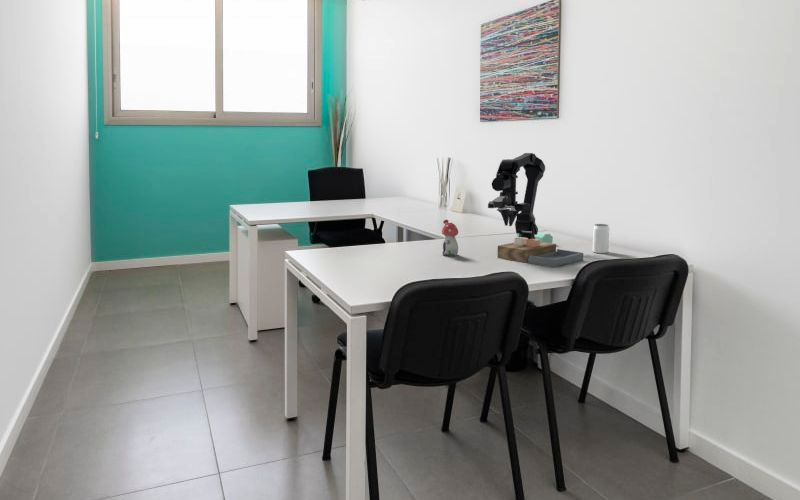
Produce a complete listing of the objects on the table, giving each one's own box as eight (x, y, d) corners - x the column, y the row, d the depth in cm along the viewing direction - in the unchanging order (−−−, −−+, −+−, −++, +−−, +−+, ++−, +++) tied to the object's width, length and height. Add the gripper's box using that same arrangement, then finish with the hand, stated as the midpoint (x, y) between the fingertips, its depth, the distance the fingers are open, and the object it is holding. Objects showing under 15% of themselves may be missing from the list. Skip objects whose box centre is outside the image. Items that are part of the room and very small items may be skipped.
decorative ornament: (440, 253, 266) (440, 219, 263) (454, 252, 267) (454, 218, 264) (445, 257, 257) (445, 222, 254) (460, 256, 258) (460, 221, 255)
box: (527, 262, 244) (527, 255, 243) (556, 255, 257) (556, 248, 256) (554, 267, 234) (554, 259, 234) (582, 260, 247) (583, 252, 247)
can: (609, 253, 260) (610, 226, 257) (593, 253, 261) (594, 225, 259) (607, 251, 266) (608, 223, 264) (591, 250, 267) (592, 223, 265)
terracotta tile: (526, 245, 253) (526, 239, 252) (531, 244, 256) (532, 238, 255) (534, 246, 250) (534, 240, 250) (539, 245, 253) (540, 239, 252)
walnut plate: (497, 257, 255) (497, 245, 254) (526, 251, 268) (526, 239, 267) (526, 262, 244) (527, 250, 243) (555, 255, 257) (556, 244, 256)
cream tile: (514, 244, 257) (514, 238, 257) (520, 242, 260) (520, 237, 260) (522, 245, 254) (522, 239, 254) (528, 244, 257) (528, 238, 257)
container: (516, 225, 304) (544, 231, 281) (526, 229, 306) (554, 235, 283) (512, 236, 304) (540, 243, 281) (522, 240, 306) (550, 247, 283)
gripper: (479, 189, 260) (479, 225, 263) (515, 192, 246) (514, 230, 249) (496, 187, 267) (495, 223, 270) (531, 190, 253) (530, 227, 256)
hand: (508, 225), depth 261 cm, fingers closed
